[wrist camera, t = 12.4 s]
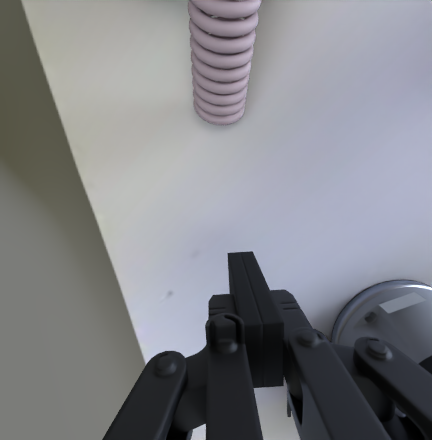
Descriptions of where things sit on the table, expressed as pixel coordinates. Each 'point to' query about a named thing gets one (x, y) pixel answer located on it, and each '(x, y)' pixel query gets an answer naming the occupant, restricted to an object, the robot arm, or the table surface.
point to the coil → (221, 56)
